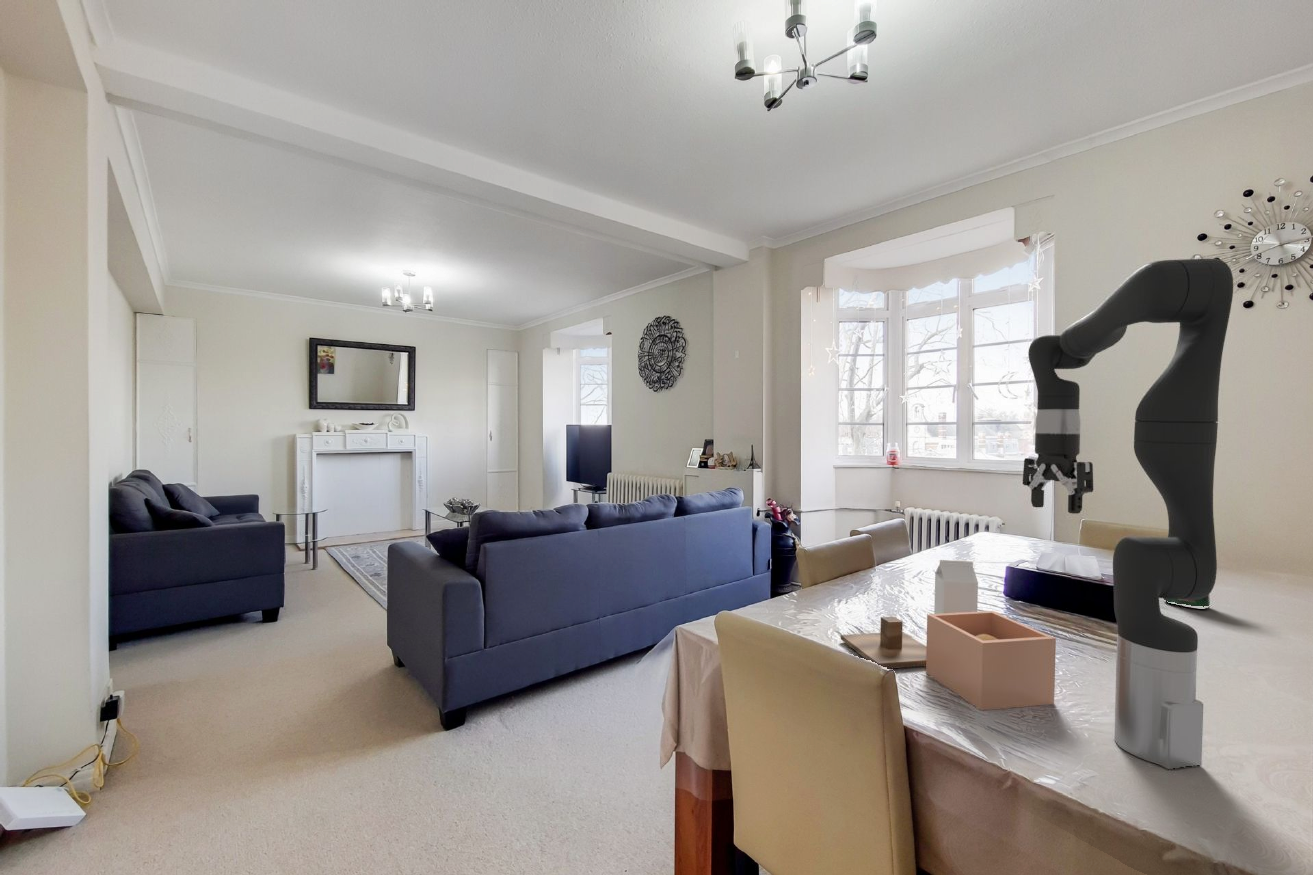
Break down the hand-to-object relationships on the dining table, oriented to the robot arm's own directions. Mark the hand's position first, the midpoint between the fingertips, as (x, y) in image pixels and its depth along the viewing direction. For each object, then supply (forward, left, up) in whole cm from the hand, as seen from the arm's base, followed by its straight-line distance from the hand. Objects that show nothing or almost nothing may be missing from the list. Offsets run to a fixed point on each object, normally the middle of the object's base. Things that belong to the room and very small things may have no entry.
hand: (1055, 510), depth 115 cm
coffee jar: (+30, -75, -33) cm, 87 cm away
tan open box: (-6, +20, -33) cm, 39 cm away
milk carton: (+16, +10, -33) cm, 38 cm away
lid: (+12, +29, -32) cm, 45 cm away
